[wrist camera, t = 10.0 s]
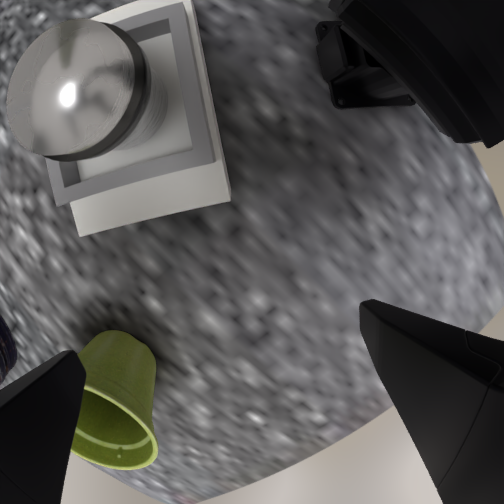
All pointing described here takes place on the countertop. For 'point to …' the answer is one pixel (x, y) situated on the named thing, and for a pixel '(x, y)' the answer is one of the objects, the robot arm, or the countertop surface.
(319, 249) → the countertop surface
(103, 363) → the plant pot
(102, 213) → the grey open box
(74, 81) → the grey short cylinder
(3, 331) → the storage jar
